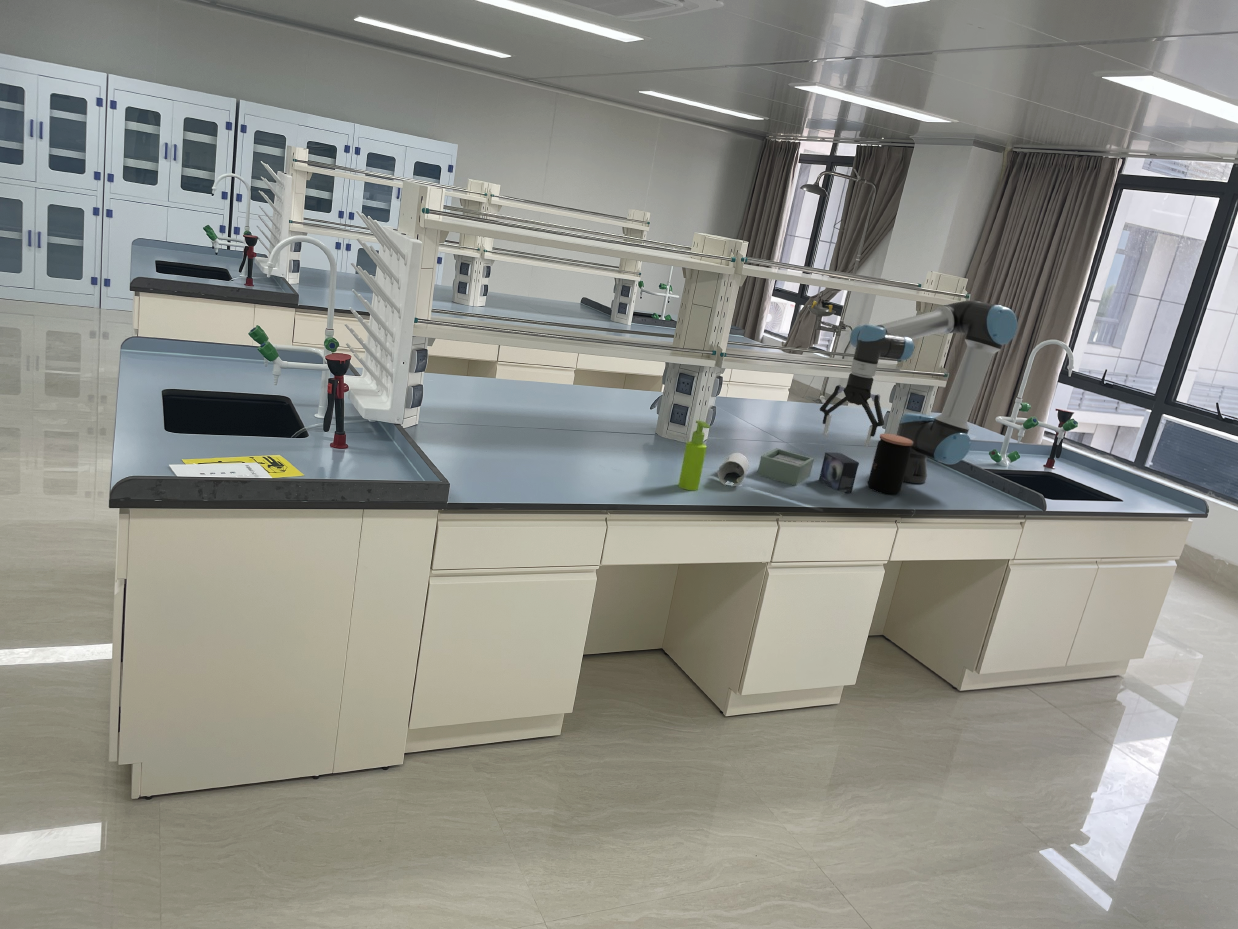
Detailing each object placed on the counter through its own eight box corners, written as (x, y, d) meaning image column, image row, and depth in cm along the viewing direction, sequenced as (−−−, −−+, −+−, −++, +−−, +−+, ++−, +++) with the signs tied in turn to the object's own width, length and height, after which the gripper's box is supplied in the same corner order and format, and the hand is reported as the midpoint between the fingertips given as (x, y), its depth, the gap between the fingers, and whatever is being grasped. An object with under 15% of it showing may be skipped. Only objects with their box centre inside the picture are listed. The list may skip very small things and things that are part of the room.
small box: (816, 481, 286) (823, 451, 283) (832, 482, 289) (840, 452, 286) (836, 493, 277) (843, 461, 274) (852, 493, 280) (860, 462, 277)
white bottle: (749, 475, 281) (754, 451, 279) (741, 489, 263) (746, 464, 261) (724, 469, 282) (729, 445, 280) (715, 483, 265) (720, 458, 263)
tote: (809, 478, 288) (814, 458, 286) (795, 488, 274) (800, 467, 272) (772, 467, 294) (776, 448, 292) (756, 476, 280) (761, 455, 278)
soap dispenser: (685, 491, 252) (698, 424, 246) (675, 483, 258) (687, 418, 252) (703, 492, 254) (716, 425, 249) (692, 484, 260) (705, 419, 255)
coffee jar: (874, 483, 297) (887, 432, 292) (904, 493, 291) (918, 441, 286) (861, 487, 289) (874, 435, 284) (891, 497, 283) (906, 444, 278)
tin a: (802, 475, 288) (806, 460, 286) (797, 479, 282) (800, 464, 281) (777, 468, 291) (780, 453, 290) (771, 471, 286) (774, 456, 284)
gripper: (820, 366, 274) (804, 431, 280) (899, 385, 264) (882, 452, 270) (826, 365, 281) (811, 428, 287) (904, 383, 271) (886, 448, 277)
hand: (845, 440), depth 278 cm, fingers open, 13 cm apart
